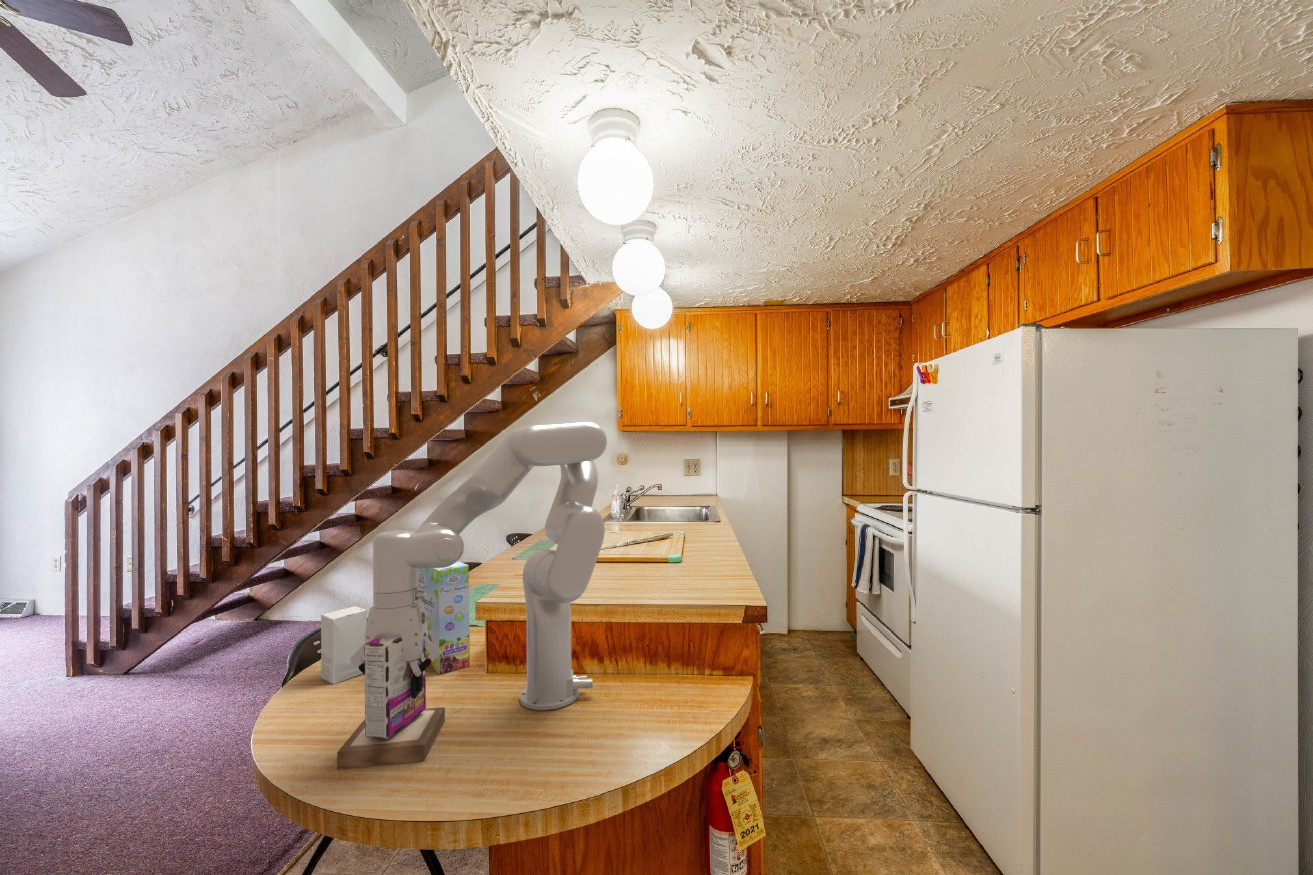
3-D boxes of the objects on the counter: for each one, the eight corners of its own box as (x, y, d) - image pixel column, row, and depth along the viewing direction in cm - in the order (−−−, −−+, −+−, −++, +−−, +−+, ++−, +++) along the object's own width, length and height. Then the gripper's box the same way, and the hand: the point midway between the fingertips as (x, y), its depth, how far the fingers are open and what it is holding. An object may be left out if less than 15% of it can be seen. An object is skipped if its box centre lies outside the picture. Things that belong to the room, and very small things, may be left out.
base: (444, 721, 106) (444, 705, 106) (424, 760, 92) (424, 743, 92) (369, 727, 104) (369, 711, 104) (337, 768, 90) (337, 750, 90)
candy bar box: (403, 708, 104) (403, 622, 104) (426, 709, 103) (427, 624, 104) (362, 737, 93) (362, 642, 93) (387, 740, 92) (388, 644, 93)
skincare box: (355, 667, 134) (356, 605, 135) (368, 673, 130) (369, 609, 131) (319, 679, 128) (319, 613, 128) (331, 685, 124) (332, 617, 124)
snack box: (406, 653, 144) (406, 557, 145) (439, 645, 150) (439, 552, 151) (437, 676, 128) (436, 568, 129) (472, 666, 134) (471, 563, 135)
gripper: (449, 590, 104) (450, 684, 103) (354, 596, 101) (354, 692, 101) (439, 601, 96) (440, 702, 96) (336, 606, 94) (336, 710, 93)
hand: (396, 696), depth 98 cm, fingers closed on candy bar box, 6 cm apart
